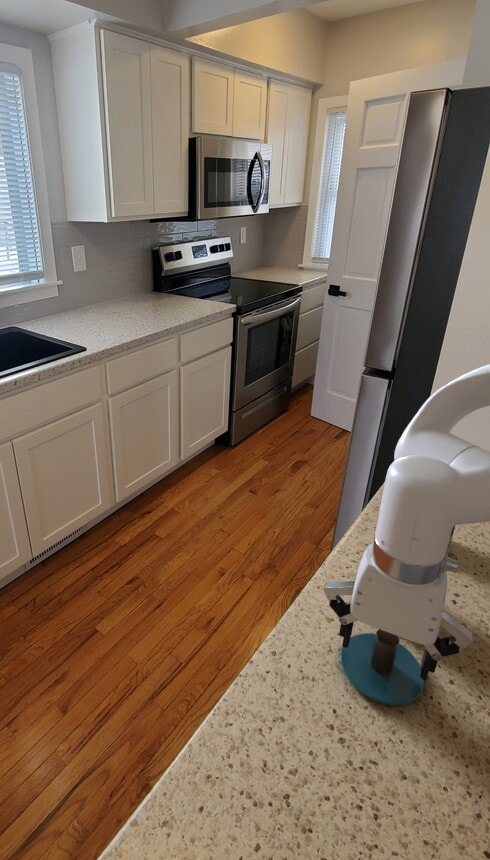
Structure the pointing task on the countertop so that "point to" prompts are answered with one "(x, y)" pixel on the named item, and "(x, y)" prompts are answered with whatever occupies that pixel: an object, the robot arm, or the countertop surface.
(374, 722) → the countertop surface
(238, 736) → the countertop surface
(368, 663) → the lid
